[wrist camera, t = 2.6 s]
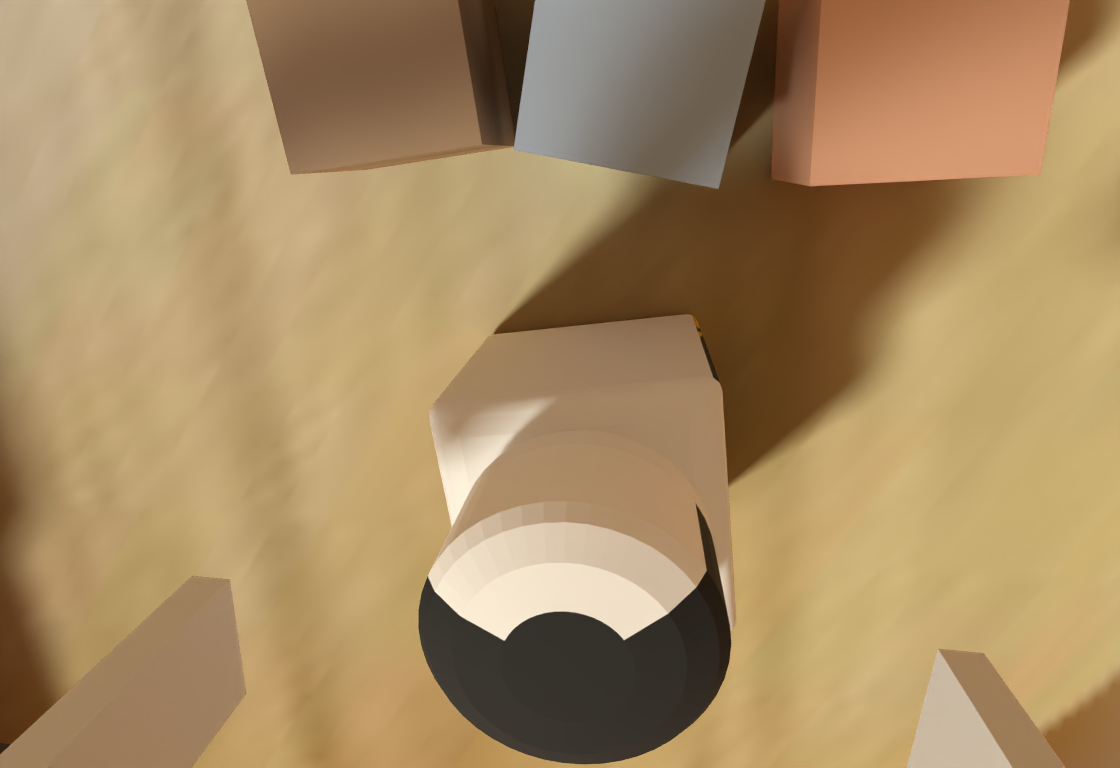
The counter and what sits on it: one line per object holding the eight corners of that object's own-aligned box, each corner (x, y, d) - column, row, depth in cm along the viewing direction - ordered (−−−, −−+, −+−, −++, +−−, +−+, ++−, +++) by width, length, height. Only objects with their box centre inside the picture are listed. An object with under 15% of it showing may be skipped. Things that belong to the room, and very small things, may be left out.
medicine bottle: (710, 503, 24) (775, 814, 13) (517, 515, 25) (418, 813, 14) (696, 310, 22) (760, 478, 10) (485, 332, 23) (337, 507, 12)
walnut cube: (327, -4, 20) (233, -52, 15) (489, -35, 19) (441, -97, 15) (366, 169, 22) (290, 174, 17) (516, 146, 21) (481, 144, 16)
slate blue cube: (570, -32, 19) (548, -93, 14) (743, -2, 19) (778, -53, 14) (541, 150, 21) (513, 149, 16) (699, 180, 21) (718, 189, 16)
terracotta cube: (778, -7, 19) (825, -62, 14) (968, -24, 18) (1084, -86, 13) (770, 179, 20) (810, 186, 16) (944, 169, 20) (1040, 174, 15)
